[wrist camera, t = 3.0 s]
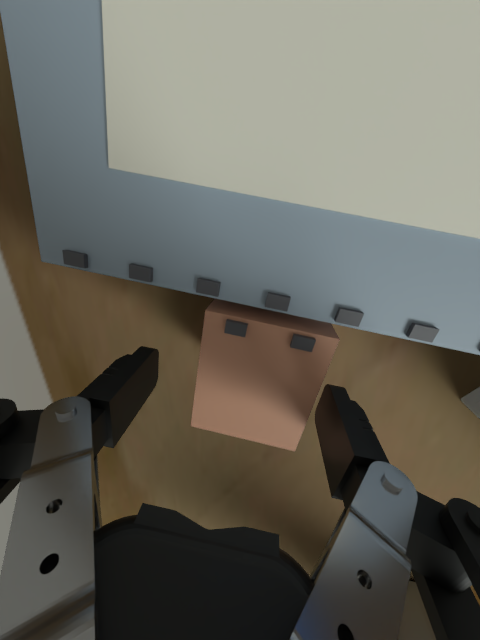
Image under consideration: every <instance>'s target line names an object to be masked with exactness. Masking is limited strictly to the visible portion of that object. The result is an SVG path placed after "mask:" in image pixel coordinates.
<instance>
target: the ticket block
mask: <svg viewBox="0 0 480 640" xmlns="http://www.w3.org/2000/svg"><path fill="white" fill-rule="evenodd" d="M0 12H1V18H2V24H3V30H4V37H5V43H6V49H7V55H8V61H9V67H10V73H11V79H12V85H13V91H14V97H15V103H16V109H17V115H18V122H19V128H20V134H21V140H22V146H23V152H24V158H25V164H26V170H27V176H28V182H29V188H30V194H31V201H32V207H33V213H34V219H35V225H36V231H37V237H38V243H39V249H40V255H41V261H42V262H47V263H52V264H56V265H61V266H66V267H70V268H75V269H80V270H84V271H89V272H94V273H98V274H103V275H108V276H113V277H117V278H122V279H127V280H131V281H136V282H141V283H145V284H150V285H155V286H159V287H164V288H169V289H173V290H178V291H183V292H187V293H192V294H197V295H201V296H206V297H211V298H215V299H220V300H225V301H229V302H234V303H239V304H243V305H248V306H253V307H257V308H262V309H267V310H271V311H276V312H281V313H285V314H290V315H295V316H299V317H304V318H309V319H314V320H318V321H323V322H328V323H332V324H337V325H342V326H346V327H351V328H356V329H360V330H365V331H370V332H374V333H379V334H384V335H388V336H393V337H398V338H402V339H407V340H412V341H416V342H421V343H426V344H430V345H435V346H440V347H444V348H449V349H454V350H458V351H463V352H468V353H472V354H477V355H480V0H0Z"/></svg>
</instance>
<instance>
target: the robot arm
mask: <svg viewBox="0 0 480 640" xmlns="http://www.w3.org/2000/svg"><path fill="white" fill-rule="evenodd" d="M158 359H159V352H158V350H157V349H153V348H148V347H143V346H141V347H139V348H138V349H137V350H136V351H135V352H134V353H133V354H132V355H129V354H127V355H125V356H123V357H121V358H119V359H117V360H116V361H114V362H113V363H112V364H111V365H110V366H109V368H107V369H106V370H105V371H104V372H103V373H102V374H100V375H99V376H98V377H97V378H96V379H95V380H94V381H93V382H92V383H91V384H90V385H88V386H87V387H86V388H85V389H84V390H83V391H82V392H81V393H80V394H79V395H78V396H77V397H67V398H63V399H60V400H58V401H56V402H54V403H52V404H50V405H49V406H48V407H47V408H45V409H44V410H26V411H17V407H16V404H15V403H14V402H13V401H12V400H9V399H0V503H1V502H2V501H3V500H4V499H5V498H6V497H7V496H8V494H9V493H10V492H11V491H12V490H13V489H14V488H15V487H16V485H17V484H18V483H19V482H20V485H19V489H18V494H17V499H16V504H15V509H14V514H13V518H12V523H11V527H10V532H9V537H8V542H7V546H6V551H5V556H4V561H3V565H2V570H1V575H0V640H480V606H479V604H478V602H477V600H476V598H475V596H474V594H473V592H472V590H471V588H470V586H471V585H473V587H474V589H475V591H476V593H477V595H478V597H479V599H480V508H479V507H477V506H476V505H474V504H472V503H470V502H468V501H466V500H463V499H460V498H453V499H451V500H449V502H448V503H447V504H446V505H443V504H441V503H439V502H437V501H435V500H433V499H431V498H429V497H427V496H425V495H423V494H421V493H419V492H417V491H416V489H415V487H414V485H413V484H412V482H411V481H410V480H409V478H408V477H407V476H406V475H405V474H404V473H403V472H401V471H400V470H399V469H398V468H396V467H394V466H393V465H391V464H390V463H389V461H388V459H387V457H386V455H385V453H384V451H383V449H382V447H381V445H380V443H379V441H378V439H377V436H376V434H375V432H373V428H372V426H371V424H370V423H369V420H368V418H367V416H366V414H365V412H364V410H363V409H362V408H361V407H360V406H359V405H358V404H357V403H356V402H355V401H352V400H350V398H349V396H348V394H347V391H346V389H345V388H344V387H339V386H334V385H329V384H327V385H326V386H325V388H324V390H323V393H322V395H321V398H320V400H319V403H318V406H317V408H316V412H315V424H316V429H317V433H318V438H319V442H320V447H321V451H322V456H323V460H324V465H325V469H326V474H327V479H328V483H329V488H330V492H331V497H332V498H335V499H340V500H343V502H344V506H345V509H344V510H343V512H342V514H341V516H340V518H339V520H338V522H337V524H336V526H335V528H334V530H333V532H332V534H331V536H330V538H329V540H328V542H327V544H326V546H325V548H324V550H323V552H322V554H321V556H320V558H319V560H318V562H317V564H316V566H315V567H314V569H313V571H312V573H311V575H310V577H309V575H308V574H307V573H306V571H305V570H304V569H303V568H302V567H301V565H300V564H299V563H298V562H297V561H296V560H294V559H293V558H292V557H291V556H290V555H289V554H287V553H286V552H285V551H283V550H282V549H280V548H279V535H278V534H274V533H270V532H265V531H261V530H257V529H253V528H248V527H236V528H225V529H214V530H208V529H205V528H203V527H202V526H200V525H198V524H197V523H195V522H193V521H192V520H190V519H188V518H187V517H185V516H183V515H182V514H180V513H179V512H177V511H175V510H170V509H166V508H162V507H157V506H153V505H149V504H144V503H143V504H142V506H141V508H140V510H139V513H138V515H132V516H128V517H123V518H120V519H118V520H115V521H112V522H110V523H108V524H106V525H104V526H103V527H102V518H101V507H100V491H99V474H98V457H97V454H98V452H99V451H100V450H101V448H102V447H103V446H106V447H111V448H114V447H115V445H116V444H117V442H118V441H119V439H120V438H121V436H122V435H123V434H124V432H125V431H126V429H127V428H128V426H129V425H130V423H131V422H132V420H133V419H134V417H135V416H136V414H137V413H138V411H139V410H140V409H141V407H142V406H143V404H144V403H145V401H146V400H147V398H148V397H149V395H150V394H151V392H152V391H153V389H154V388H155V386H156V383H157V380H158ZM411 571H412V574H413V576H414V579H415V582H413V581H409V578H410V573H411Z"/></svg>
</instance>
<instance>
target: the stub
mask: <svg viewBox="0 0 480 640" xmlns="http://www.w3.org/2000/svg"><path fill="white" fill-rule="evenodd" d="M339 340H340V339H339V337H338V335H337V334H336V332H335V330H334V328H333V326H332V325H331V323H328V322H323V321H318V320H314V319H309V318H304V317H299V316H295V315H290V314H285V313H281V312H276V311H271V310H267V309H262V308H257V307H253V306H248V305H243V304H239V303H234V302H229V301H225V300H220V299H215V298H214V300H213V301H212V302H211V303H210V305H209V306H208V307H207V309H206V310H205V317H204V325H203V333H202V341H201V349H200V357H199V364H198V372H197V380H196V388H195V396H194V404H193V412H192V420H191V426H192V427H196V428H200V429H204V430H209V431H213V432H217V433H221V434H225V435H229V436H233V437H238V438H242V439H246V440H250V441H254V442H258V443H262V444H266V445H271V446H275V447H279V448H283V449H287V450H291V451H295V450H296V447H297V445H298V442H299V440H300V437H301V435H302V432H303V430H304V427H305V425H306V422H307V420H308V417H309V415H310V412H311V410H312V407H313V405H314V402H315V400H316V397H317V395H318V392H319V390H320V387H321V385H322V382H323V380H324V377H325V375H326V372H327V370H328V367H329V365H330V362H331V360H332V357H333V355H334V352H335V350H336V347H337V345H338V342H339Z"/></svg>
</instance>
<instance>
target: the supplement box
mask: <svg viewBox="0 0 480 640" xmlns="http://www.w3.org/2000/svg"><path fill="white" fill-rule="evenodd" d="M461 401H462V402H463V403H464V404H465V405H466V406H467V407H468V408H469V409H470V410H471V411H472V412H473V413H474V414H475V415H476V416H477V417H478V418H479V419H480V387H479V388H477V389H475V390H474V391H472V392H470V393H469V394H467V395H465V396H464V397H462V398H461Z"/></svg>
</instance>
